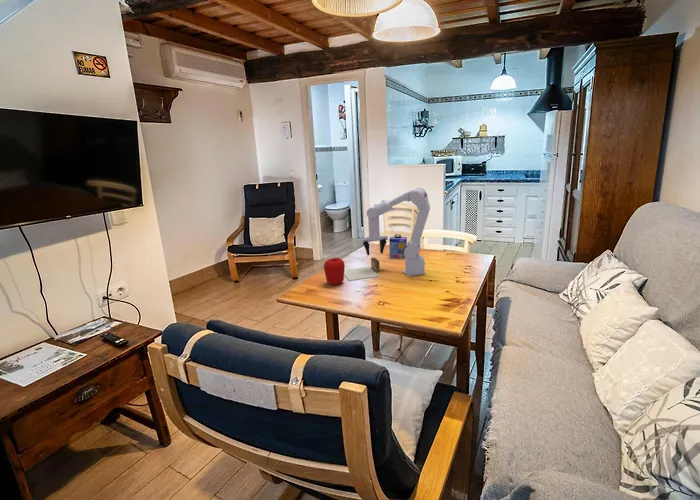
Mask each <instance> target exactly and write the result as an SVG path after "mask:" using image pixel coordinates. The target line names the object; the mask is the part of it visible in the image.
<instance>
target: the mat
mask: <svg viewBox="0 0 700 500" xmlns="http://www.w3.org/2000/svg"><path fill="white" fill-rule="evenodd" d="M377 277H378V278H379V277H380V276H379V274H377V272H375V271H374V270H373V269H372V268H371V266H365V267H357V268H351V269H344V278H346V279H347V280H348V281H349V282H350V281H351V282H353V281H359V280H366V279H373V278H377Z"/></svg>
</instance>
